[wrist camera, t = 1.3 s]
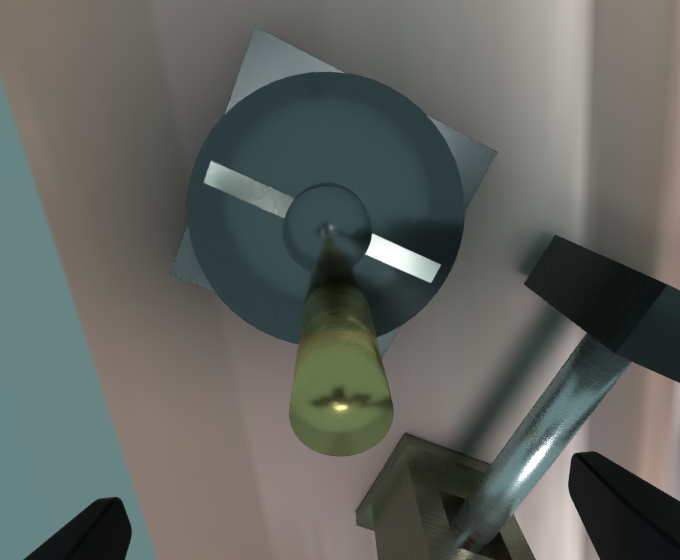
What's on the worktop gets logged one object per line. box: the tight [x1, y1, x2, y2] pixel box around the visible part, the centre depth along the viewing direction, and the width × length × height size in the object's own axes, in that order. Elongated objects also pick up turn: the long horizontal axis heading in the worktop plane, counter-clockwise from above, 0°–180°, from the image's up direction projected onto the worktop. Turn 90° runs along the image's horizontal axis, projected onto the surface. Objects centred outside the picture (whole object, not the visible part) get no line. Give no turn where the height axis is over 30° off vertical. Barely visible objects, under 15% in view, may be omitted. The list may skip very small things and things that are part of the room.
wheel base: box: [170, 27, 497, 358], centre depth 17 cm, size 10×10×1 cm
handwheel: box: [187, 72, 465, 456], centre depth 13 cm, size 10×10×8 cm
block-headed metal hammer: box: [449, 235, 680, 555], centre depth 17 cm, size 6×18×6 cm, turn 155°
